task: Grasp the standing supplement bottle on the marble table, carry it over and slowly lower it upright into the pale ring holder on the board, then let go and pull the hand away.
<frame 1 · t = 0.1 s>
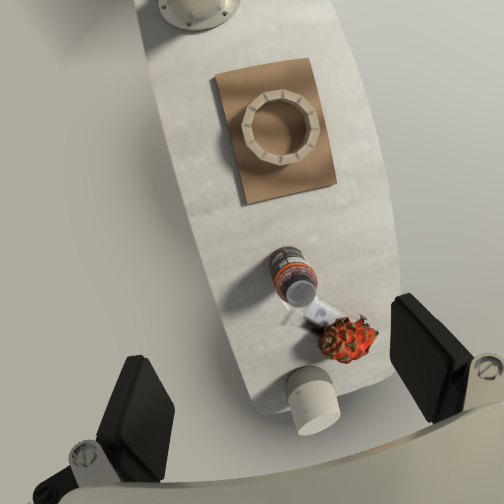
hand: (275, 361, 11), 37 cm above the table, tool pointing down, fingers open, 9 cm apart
socket board: (277, 128, 42), on the table
supplement bottle: (286, 262, 50), on the table
smart speaker: (306, 377, 59), on the table
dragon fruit: (342, 327, 55), on the table
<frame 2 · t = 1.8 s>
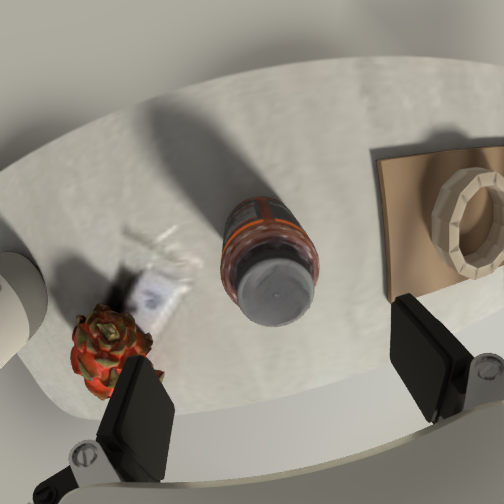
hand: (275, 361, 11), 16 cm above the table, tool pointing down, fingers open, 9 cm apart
socket board: (463, 216, 26), on the table
supplement bottle: (260, 229, 26), on the table
smart speaker: (25, 283, 27), on the table
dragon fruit: (126, 338, 30), on the table
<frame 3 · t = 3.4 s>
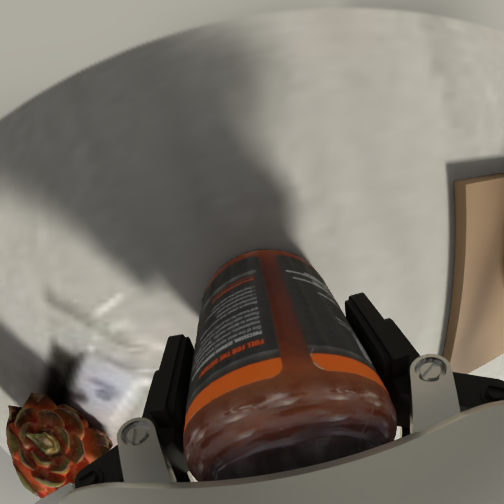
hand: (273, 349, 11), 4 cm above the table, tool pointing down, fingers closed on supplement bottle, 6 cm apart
supplement bottle: (264, 301, 15), on the table, touching gripper
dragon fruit: (81, 424, 18), on the table
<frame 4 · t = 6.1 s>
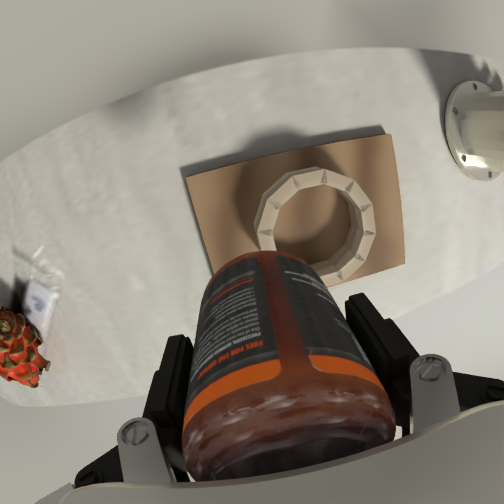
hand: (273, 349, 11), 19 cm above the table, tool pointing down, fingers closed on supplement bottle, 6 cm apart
socket board: (308, 221, 29), on the table
supplement bottle: (264, 302, 15), point 15 cm above the table, touching gripper
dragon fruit: (29, 334, 31), on the table
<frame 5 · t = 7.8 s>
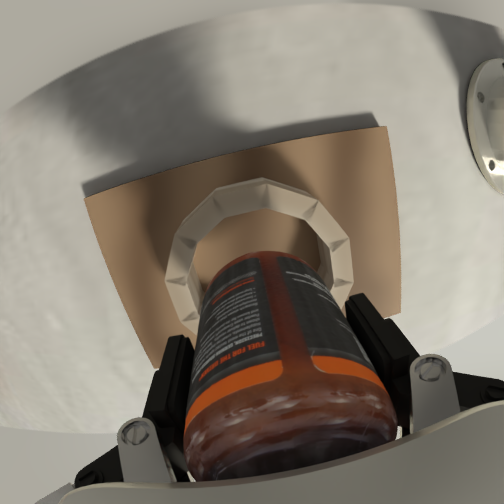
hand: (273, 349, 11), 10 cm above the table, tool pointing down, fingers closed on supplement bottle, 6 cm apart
socket board: (257, 256, 21), on the table
supplement bottle: (265, 302, 15), point 6 cm above the table, touching gripper
when the fingers open (5 cm above the table, at t = 9.1 s): supplement bottle stays where it is, resting on socket board.
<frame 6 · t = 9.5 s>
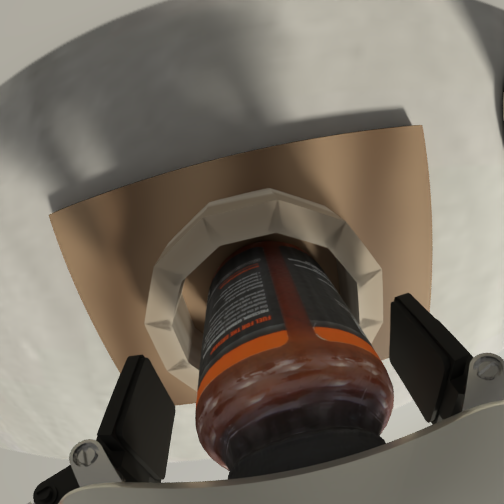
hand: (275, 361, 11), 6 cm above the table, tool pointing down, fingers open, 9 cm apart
socket board: (261, 285, 17), on the table
supplement bottle: (267, 291, 16), point 1 cm above the table, touching socket board
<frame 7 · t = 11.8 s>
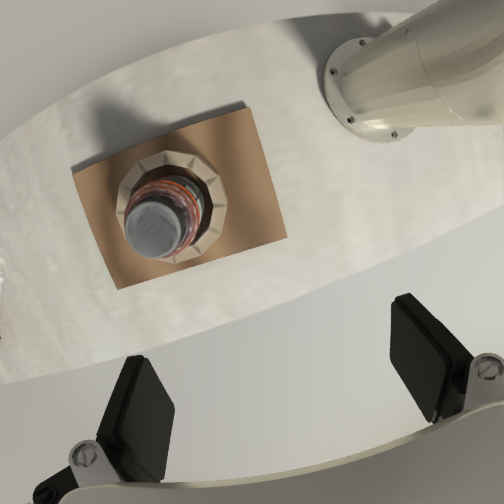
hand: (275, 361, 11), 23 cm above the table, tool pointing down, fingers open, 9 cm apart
socket board: (176, 201, 31), on the table
supplement bottle: (177, 202, 30), point 1 cm above the table, touching socket board
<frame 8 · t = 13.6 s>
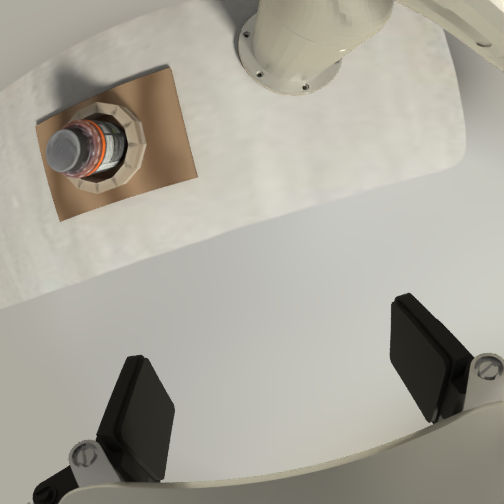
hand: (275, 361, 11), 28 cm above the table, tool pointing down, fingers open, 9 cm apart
socket board: (109, 146, 33), on the table
supplement bottle: (108, 146, 33), point 1 cm above the table, touching socket board
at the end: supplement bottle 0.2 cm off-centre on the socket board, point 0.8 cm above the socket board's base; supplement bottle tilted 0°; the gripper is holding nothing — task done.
